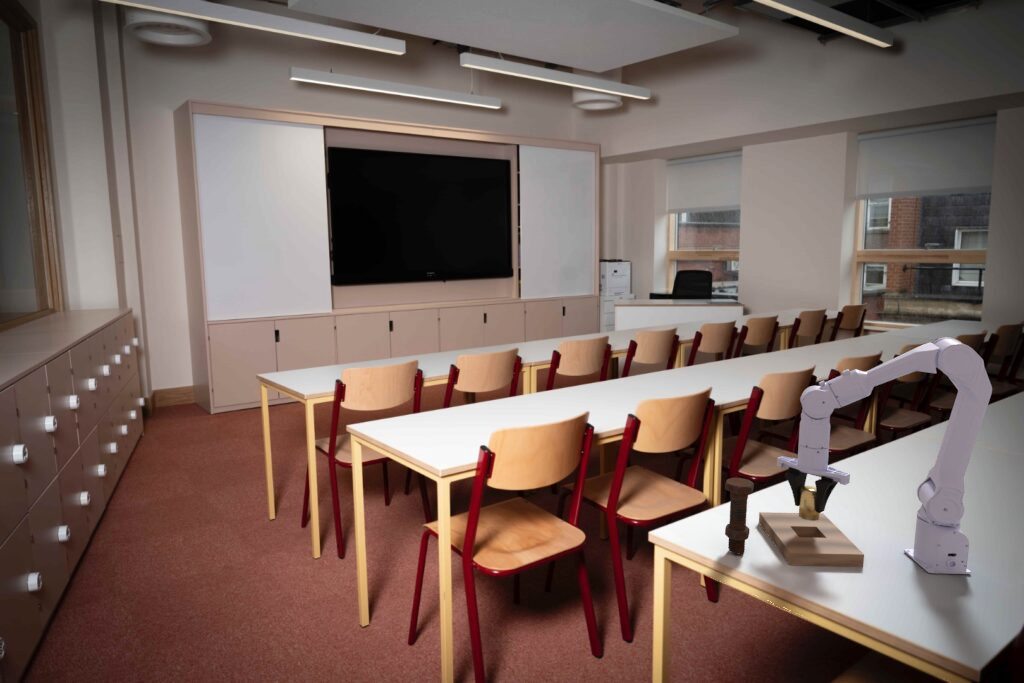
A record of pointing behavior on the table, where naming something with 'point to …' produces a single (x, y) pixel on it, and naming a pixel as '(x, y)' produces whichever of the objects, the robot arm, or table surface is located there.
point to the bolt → (738, 513)
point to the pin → (808, 503)
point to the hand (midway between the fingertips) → (809, 508)
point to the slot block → (810, 540)
